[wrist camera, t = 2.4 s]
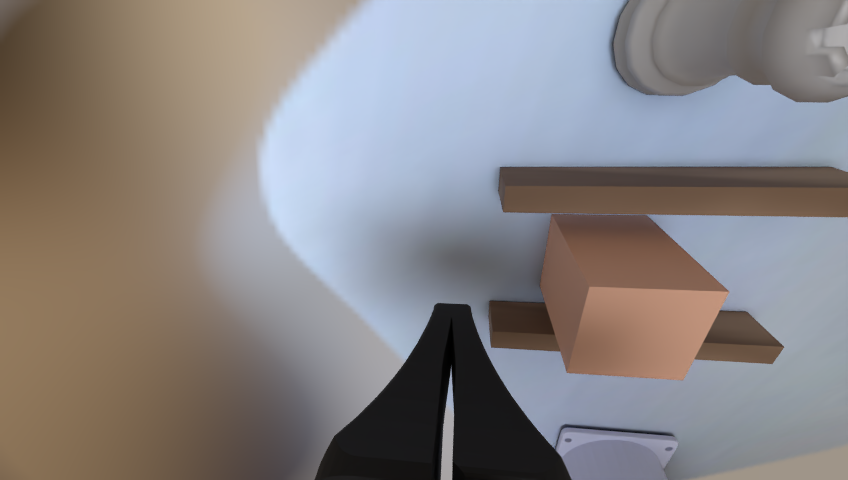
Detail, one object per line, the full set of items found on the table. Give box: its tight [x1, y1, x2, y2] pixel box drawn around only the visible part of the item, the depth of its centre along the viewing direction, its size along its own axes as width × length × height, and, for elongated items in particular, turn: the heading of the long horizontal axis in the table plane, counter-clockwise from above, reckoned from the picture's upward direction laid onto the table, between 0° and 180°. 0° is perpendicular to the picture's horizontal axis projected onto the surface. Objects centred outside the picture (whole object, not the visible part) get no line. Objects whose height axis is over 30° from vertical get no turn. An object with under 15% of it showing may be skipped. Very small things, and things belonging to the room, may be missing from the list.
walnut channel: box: [488, 167, 848, 364], centre depth 16 cm, size 9×14×2 cm
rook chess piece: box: [613, 0, 848, 102], centre depth 9 cm, size 4×4×8 cm
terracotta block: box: [540, 214, 729, 380], centre depth 15 cm, size 4×4×6 cm
